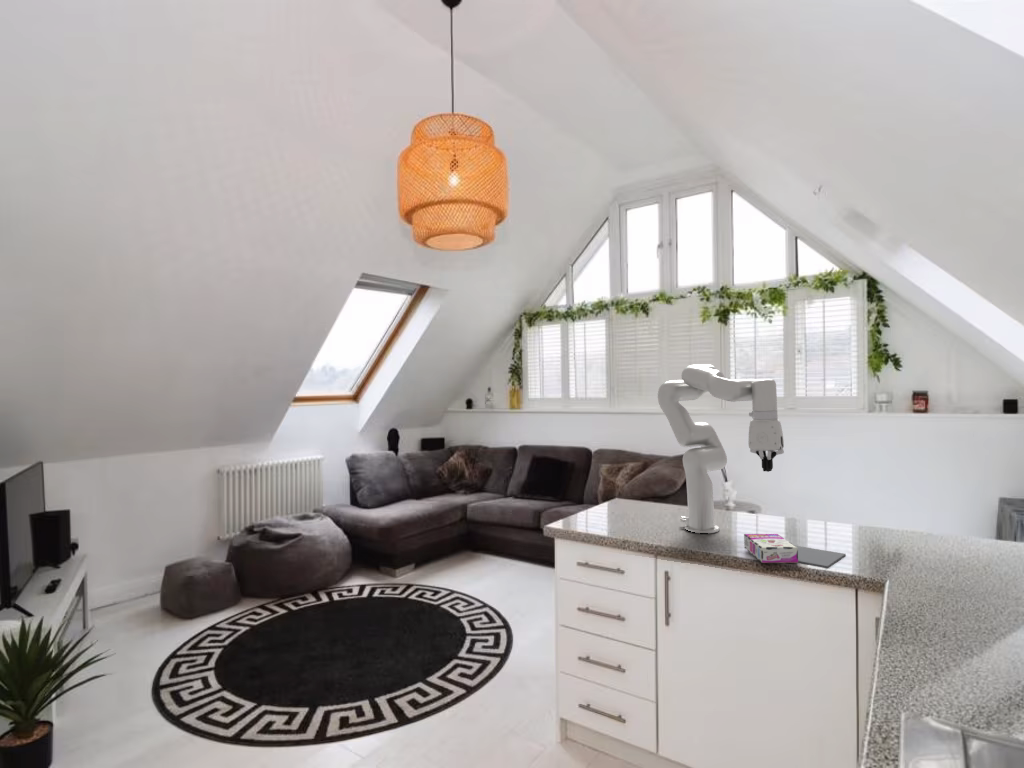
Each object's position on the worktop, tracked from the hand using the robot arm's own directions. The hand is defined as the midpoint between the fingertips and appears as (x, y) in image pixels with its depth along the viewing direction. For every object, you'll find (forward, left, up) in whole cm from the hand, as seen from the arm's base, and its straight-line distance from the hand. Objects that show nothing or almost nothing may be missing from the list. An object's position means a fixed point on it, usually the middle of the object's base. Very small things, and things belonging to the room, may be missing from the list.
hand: (767, 470), depth 187 cm
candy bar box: (-3, -2, -24) cm, 24 cm away
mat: (+10, 0, -26) cm, 28 cm away
